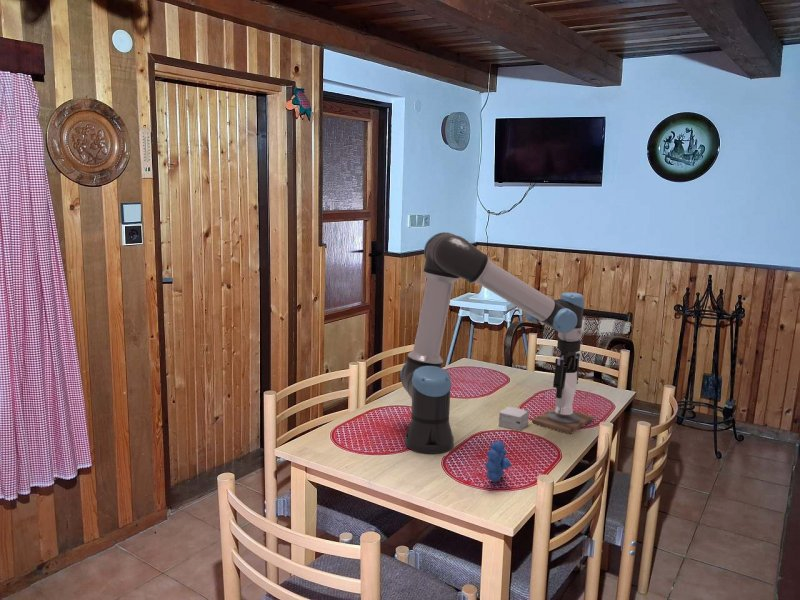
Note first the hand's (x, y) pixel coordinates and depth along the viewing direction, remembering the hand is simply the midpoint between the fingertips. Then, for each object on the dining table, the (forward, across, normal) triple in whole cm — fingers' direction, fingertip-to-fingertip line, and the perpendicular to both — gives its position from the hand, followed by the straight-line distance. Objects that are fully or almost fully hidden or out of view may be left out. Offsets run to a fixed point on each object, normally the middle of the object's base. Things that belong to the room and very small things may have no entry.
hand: (564, 404), depth 226 cm
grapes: (+7, -56, -9) cm, 57 cm away
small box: (+7, -15, +11) cm, 19 cm away
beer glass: (+3, 0, 0) cm, 3 cm away
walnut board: (+6, 0, 0) cm, 6 cm away
